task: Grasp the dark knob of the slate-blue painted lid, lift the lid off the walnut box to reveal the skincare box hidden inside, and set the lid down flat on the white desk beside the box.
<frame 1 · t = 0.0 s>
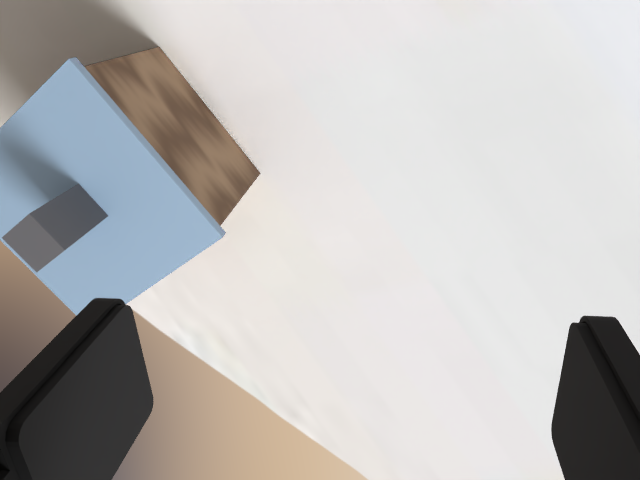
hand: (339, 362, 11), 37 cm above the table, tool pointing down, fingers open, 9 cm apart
walnut box: (159, 155, 51), on the table
lid: (86, 206, 39), point 13 cm above the table, touching walnut box
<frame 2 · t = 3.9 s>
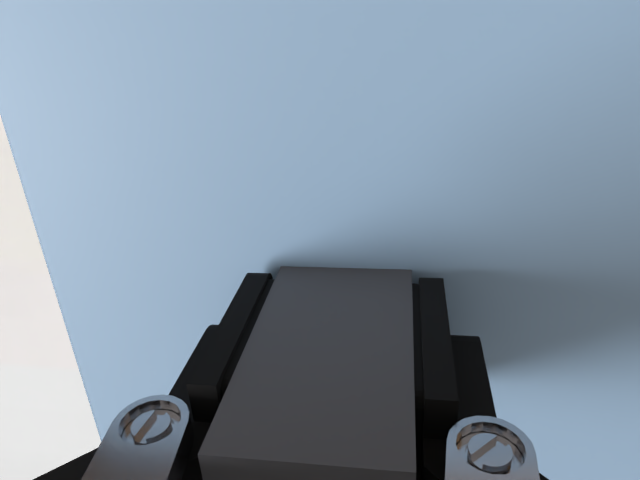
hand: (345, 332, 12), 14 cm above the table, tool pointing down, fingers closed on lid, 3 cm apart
lid: (349, 304, 13), point 13 cm above the table, touching gripper, walnut box
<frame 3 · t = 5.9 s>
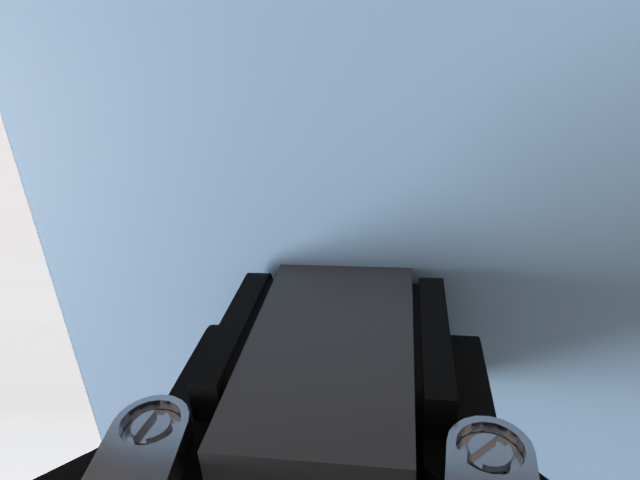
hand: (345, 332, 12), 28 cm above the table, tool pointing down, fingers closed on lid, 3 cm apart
lid: (350, 303, 13), point 27 cm above the table, touching gripper
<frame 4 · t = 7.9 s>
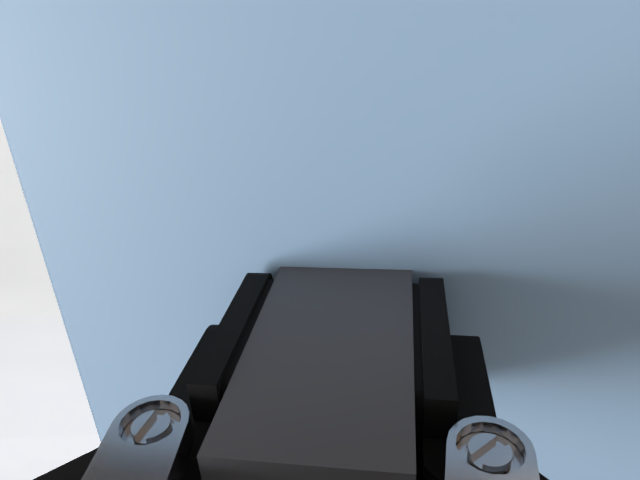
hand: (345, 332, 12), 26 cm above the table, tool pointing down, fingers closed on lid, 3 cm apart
lid: (349, 305, 13), point 24 cm above the table, touching gripper
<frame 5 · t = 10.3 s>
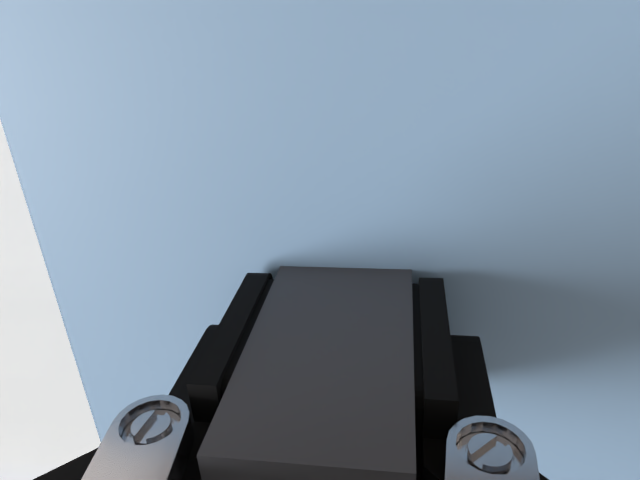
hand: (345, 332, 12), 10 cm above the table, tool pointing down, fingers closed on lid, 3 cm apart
lid: (349, 304, 13), point 8 cm above the table, touching gripper
when the fingers open (3 cm above the table, at t = 12.4 s): lid drops 3 cm, on the table.
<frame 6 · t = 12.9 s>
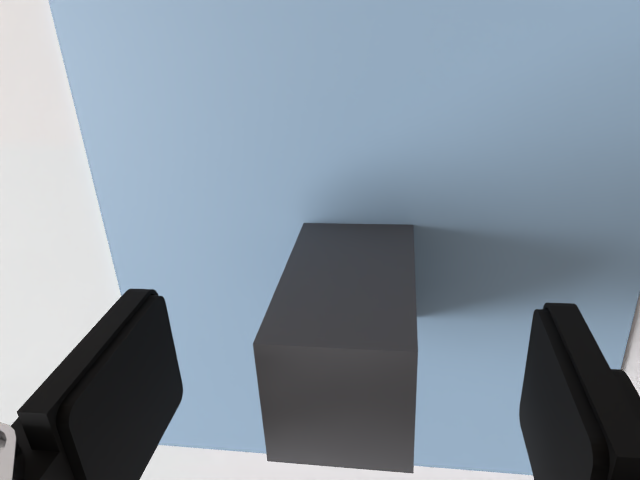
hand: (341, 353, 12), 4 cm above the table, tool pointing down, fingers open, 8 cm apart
lid: (360, 258, 16), on the table
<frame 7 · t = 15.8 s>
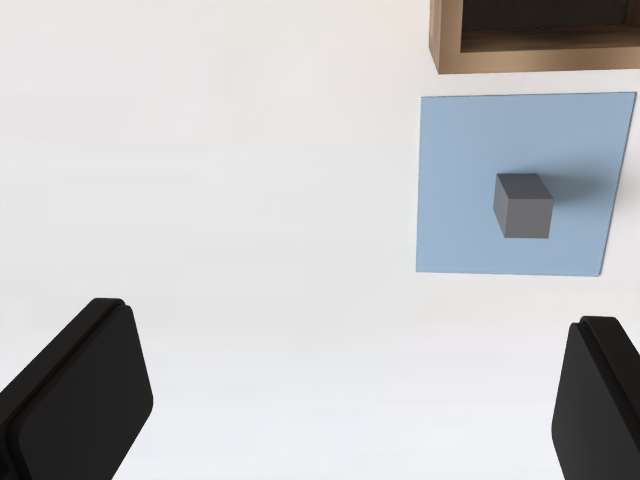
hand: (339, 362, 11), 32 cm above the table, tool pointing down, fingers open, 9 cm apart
lid: (512, 188, 43), on the table
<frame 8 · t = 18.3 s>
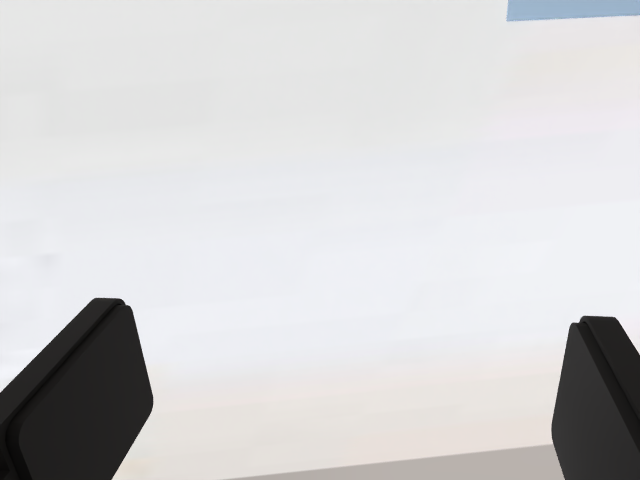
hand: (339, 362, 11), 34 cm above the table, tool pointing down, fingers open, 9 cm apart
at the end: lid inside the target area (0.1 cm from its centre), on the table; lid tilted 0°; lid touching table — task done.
